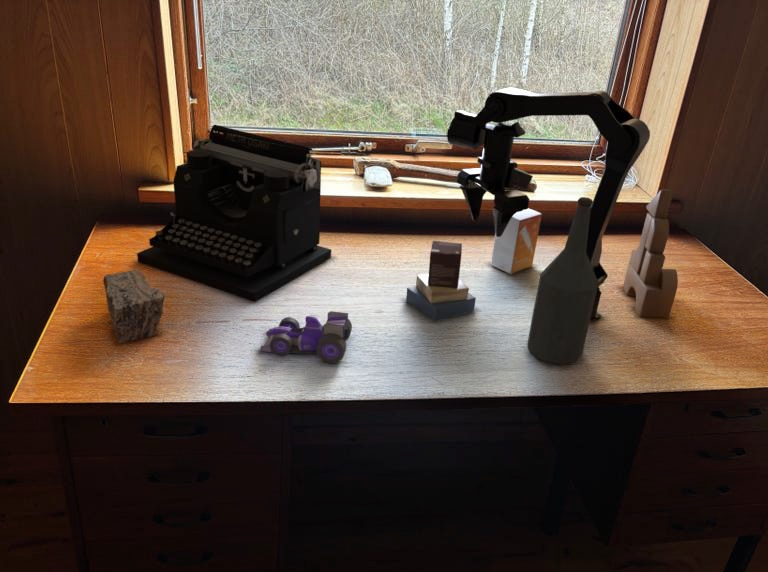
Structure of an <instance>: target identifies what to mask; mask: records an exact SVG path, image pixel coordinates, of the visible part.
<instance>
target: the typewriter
mask: <svg viewBox="0 0 768 572" xmlns="http://www.w3.org/2000/svg"><path fill="white" fill-rule="evenodd" d="M206 132H207V134H209V135H208V138H205V139H196V140H195V141H194V144H193V147H192V149H191V150H189V151H186V152H185V153H186V163H185V162H184V163H182V164H179V165H176V169H175V173H174V178H173V182H172V183H173V184H172V185H173V192H174V203H175V213H174V212H173V211H170V216H171V217H173V218H172V219H171V220H170V221H169V222H168V223H167V224H166V225H164V226H163V227H162V229H160V230H156V231H155V235H154V236H153V237H151V238H149V240H148V242H149V246H150V247H149V248H146V249H144V250H141V251H139V252H137V253H136V256H137V257H136V258H137V263H140V264H143V265H145V266H149V267H151V268H154V269H157V270H160V271H163V272H165V273H169V274H172V275H175V276H178V277H180V278H183V279H185V280H188V281H193V282H195V283H197V284H201V285H203V286H207V287H208V288H209V287H210V288H212V289H214V290H218V291H221V292H224V293H227V294H230V295H233V296H236V297H238V298H242V299H244V300H248V301H250V302H253V303H256V302H258V301H259V300H261V299H263V298H265V297H267V296H268V295H270V294H271V293H273V292H275V291H277V290H279V289H280V288H282V287H283V286H286V285H287V284H288V283H290V282H293V280H295V279H297V278H299V277H300V276H303V275H304V274H305V273H307V272H309V271H311V270H312V269H314V268H316V267H317V266H320V265H321V264H323V263H324V262H326V261H328V260H330V259H331V258H332V249H330V248H328V247H324V246H321V245H319V244H320V239H321V238H320V235H321V234H320V233H321V231H320V230H321V190H322V189H321V187H322V161H321V160H320V159H319V158H317V157H313V155H312V153H311V152H313V151H314V149H312V147H308V146H304V145H299V144H296V143H291V142H288V141H283V140H281V139H280V140H279V139H276V138H272V137H267V136H263V135H260V134H259V135H258V134H255V133H251V132H247V131H243V130H239V129H235V128H231V127H226V126H222V125H218V124H213V125H212V127H211V129H207V131H206Z"/></svg>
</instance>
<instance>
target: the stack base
mask: <svg viewBox="0 0 768 572" xmlns="http://www.w3.org/2000/svg"><path fill="white" fill-rule="evenodd" d="M476 299H477V298H476V297H475V296H474V295H472V294H471V293H469V292H468V299H465V300H456V301H447V302H439V303H430V302H429V300H428V299H427V298H426V297H425V296H424V295H423V294H422V292H421V291H420V290H419V289H418V288H417V287H416V285H413V286H409V287H406V297H405V301H406V302H407V303H408V304H410V305H411V306H413V307H414V308H416V309H417V310H418V311H420V312H421V313H423V314H424V315H425V316H427V317H428V318H430V319H431V320H433V321H434V322H438V321H442V320H445V319H451V318H453V317H457V316H459V315H463V314H467V313H470V312H473V311H475V307H476Z"/></svg>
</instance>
